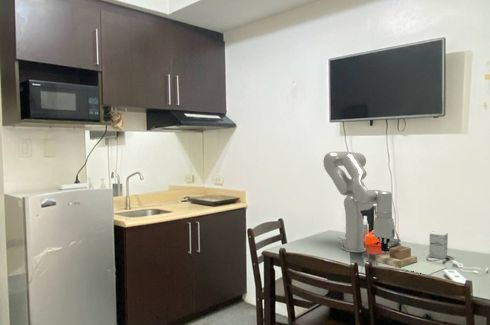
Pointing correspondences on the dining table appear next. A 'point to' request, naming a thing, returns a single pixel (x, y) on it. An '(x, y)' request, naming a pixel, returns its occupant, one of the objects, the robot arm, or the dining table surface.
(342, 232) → the dining table surface
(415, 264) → the sage mat
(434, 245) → the supplement box
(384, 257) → the birch deck
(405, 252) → the brown wooden block
